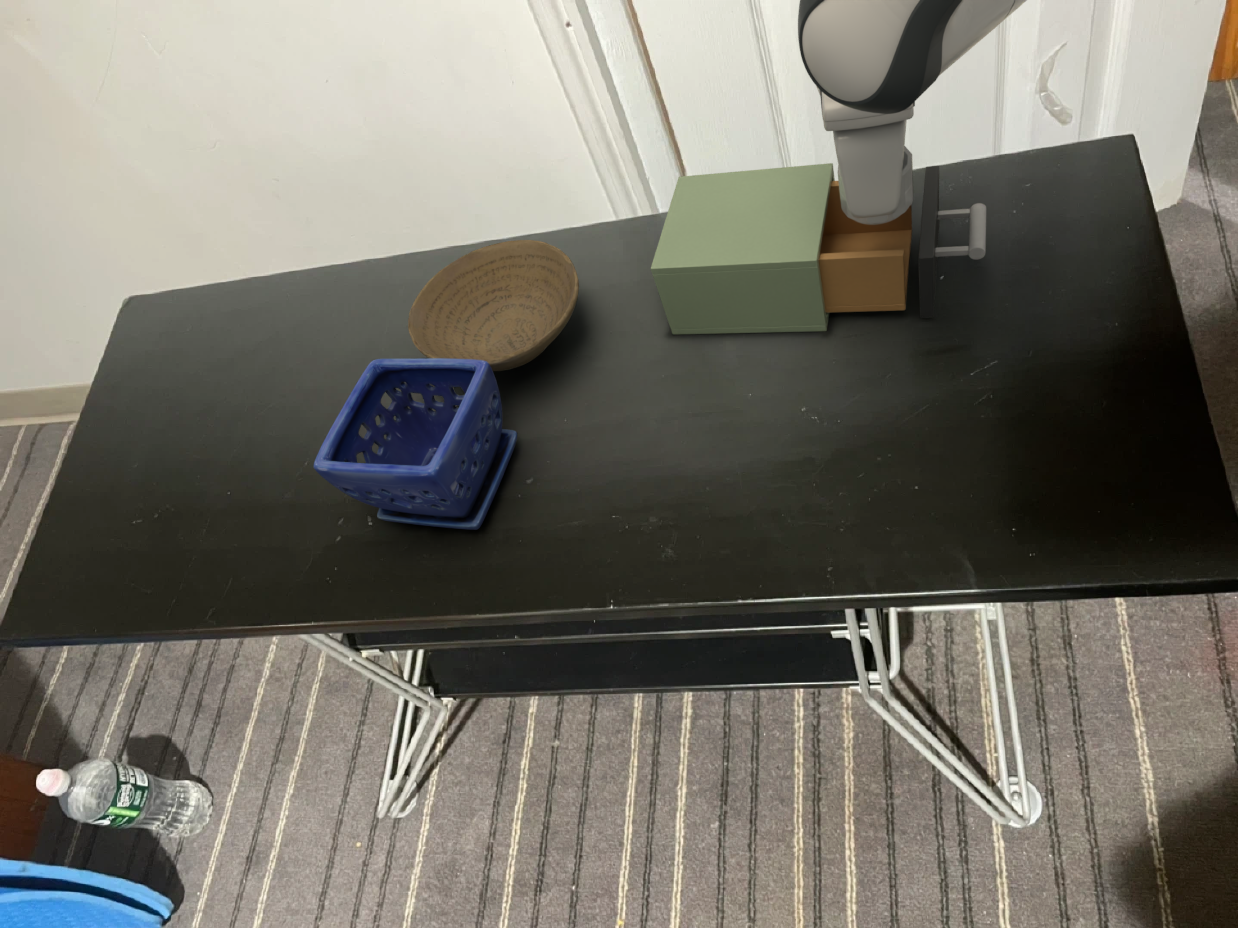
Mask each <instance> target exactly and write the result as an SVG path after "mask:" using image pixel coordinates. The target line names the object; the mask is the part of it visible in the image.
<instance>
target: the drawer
mask: <svg viewBox="0 0 1238 928" xmlns="http://www.w3.org/2000/svg"><path fill="white" fill-rule="evenodd" d="M924 171H925V172H924V181H923V182H924V184H923V195H922V208H921V209H922V210H921V221H920V222H921V223H920V235H919V248H918V289H919V291H918V292H919V295H918V296H919V297H918V298H919V318H920V319H921V318H923V319H924V318H934V317H935V301H936V286H937V272H938V271H937V270H938V257H957V256H968V257H969V258H970V259H972V260H976V261H977V260H981V259H983V258H984V257H985V256H986V250H987V249H986V248H987V247H986V246H987V245H986V244H987V206H986V205H985V204H984V203H981V202H977V203H974V204H973V205H972V206H971V207H970V208H962V209H961V208H960V209H959V208H958V209H946V210H940V165H932V166H925V170H924ZM912 204H913V203H912ZM912 204H911V205H910V207H909V208H908V209H907V211H906V212H905V213H903V214H901V215H900V216H899V217H898V218H896V219H894V220H892V221H890V222H887V223H883V224H877V225H867V224H862V223H859V222H856V221H854V220H853V219H850V218H848V217H847V216H846V214H845V213H844V212H843V210H842V208H841V200H840V191H839V182H838V180H835V181H832V182H831V188H830V194H829V200H828V206H827V212H826V218H825V224H824V230H823V236H822V243H821V249H820V255H819V261H818V262H819V268H820V275H821V282H822V289H823V296H824V304H825V311H826V313H828V312H829V313H854V312H855V313H856V312H893V311H896V312H897V311H905V310H906V308H907V299H908V288H909V286H908V285H909V275H910V264H911V263H910V262H911V252H912V251H911V250H912V241H913V240H912V238H913V206H912ZM954 219H969V224H968V225H969V229H968V245H958V246H939V238H940V237H939V236H940V220H954Z"/></svg>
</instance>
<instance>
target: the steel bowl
mask: <svg viewBox="0 0 1238 928" xmlns="http://www.w3.org/2000/svg"><path fill="white" fill-rule="evenodd" d="M913 162H914V161H913V153H912V152H911V151H910V150H909V148H908V147H907V146H906V145H904V158H903V170H902V182H901V192H900V200H899V205H898V208H897V210H896V211H895V212H894V213H893V214H890V215H888V219H887V220H886V221H885V222H882V223H873V224H870V223H868V222H867V221H866V218H855V217H853V216H852V215H851V213H850V211H849V209H848V206H847V202H846V198H845V193H844V189H843V184H842V179H841V175H840V170H839V165H838V164H837V181H838V182H839V191H840V200H841V208H842V210H843V212H844V213H845V214H846V216H847V217H848V218H850V219H853V220H854V221H856V222H859V223H862V224H867V225H877V224H883V223H887V222H890V221H892V220H894V219H896V218H898V217H899V216H900V215H901V214H903V213H905V212H906V211H907V209H908V208H909V207H910V205H911V204H913V203H914V168H913Z"/></svg>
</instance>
